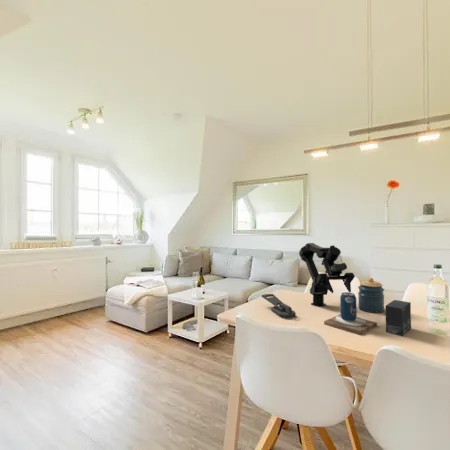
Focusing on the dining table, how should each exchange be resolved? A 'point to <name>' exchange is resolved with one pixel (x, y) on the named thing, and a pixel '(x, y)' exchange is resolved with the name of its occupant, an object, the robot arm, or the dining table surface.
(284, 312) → the zipper pull
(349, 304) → the soda can
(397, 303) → the small box
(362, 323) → the rosette board
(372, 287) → the canister
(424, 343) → the dining table surface
